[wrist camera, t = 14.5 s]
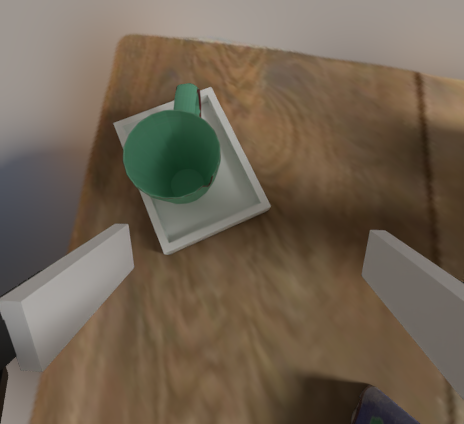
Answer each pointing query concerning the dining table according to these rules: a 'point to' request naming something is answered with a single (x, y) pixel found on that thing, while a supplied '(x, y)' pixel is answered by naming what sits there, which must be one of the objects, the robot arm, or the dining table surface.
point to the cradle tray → (219, 194)
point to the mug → (174, 151)
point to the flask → (379, 409)
